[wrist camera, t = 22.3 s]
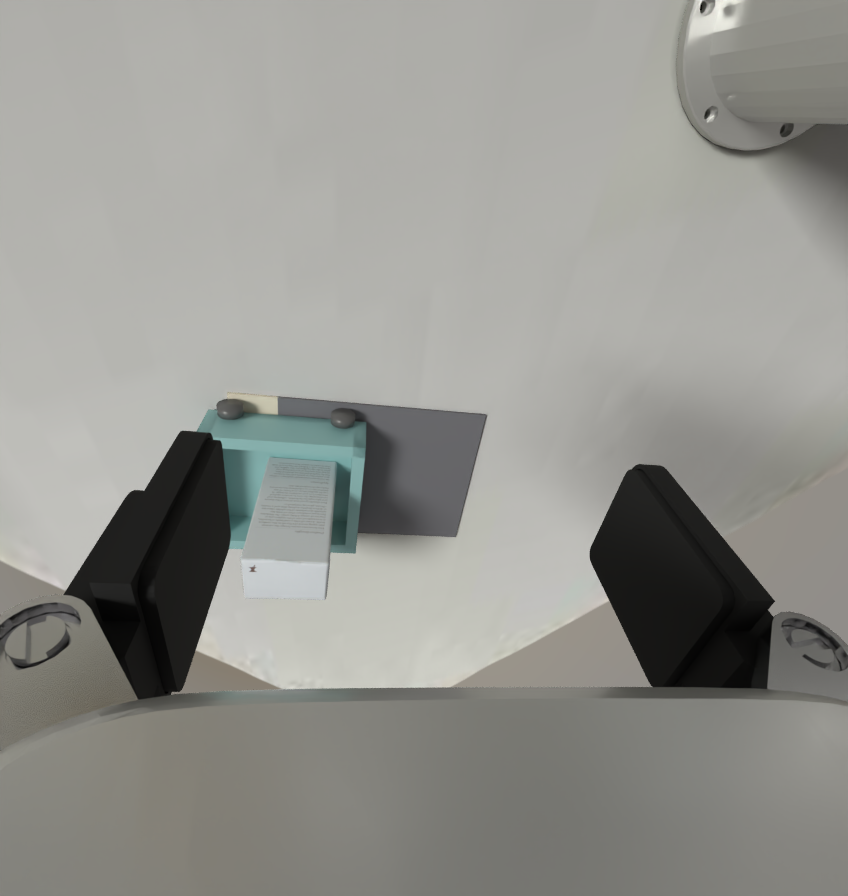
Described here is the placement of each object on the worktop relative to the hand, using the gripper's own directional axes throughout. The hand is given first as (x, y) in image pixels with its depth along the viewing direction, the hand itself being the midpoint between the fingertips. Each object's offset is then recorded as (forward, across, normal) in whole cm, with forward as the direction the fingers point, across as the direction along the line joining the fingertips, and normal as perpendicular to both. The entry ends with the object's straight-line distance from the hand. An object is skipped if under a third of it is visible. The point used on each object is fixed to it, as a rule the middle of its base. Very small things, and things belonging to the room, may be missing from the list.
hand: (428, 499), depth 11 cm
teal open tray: (+28, +7, +21) cm, 36 cm away
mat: (+28, +1, +21) cm, 35 cm away
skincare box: (+27, +6, +21) cm, 35 cm away
